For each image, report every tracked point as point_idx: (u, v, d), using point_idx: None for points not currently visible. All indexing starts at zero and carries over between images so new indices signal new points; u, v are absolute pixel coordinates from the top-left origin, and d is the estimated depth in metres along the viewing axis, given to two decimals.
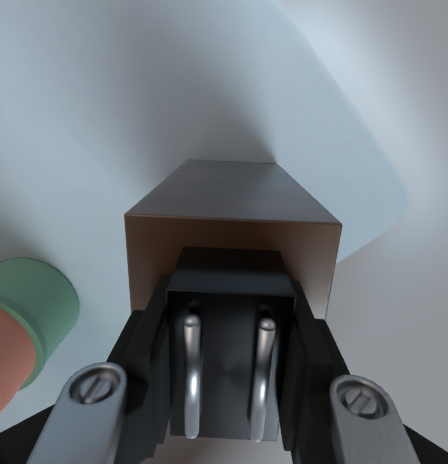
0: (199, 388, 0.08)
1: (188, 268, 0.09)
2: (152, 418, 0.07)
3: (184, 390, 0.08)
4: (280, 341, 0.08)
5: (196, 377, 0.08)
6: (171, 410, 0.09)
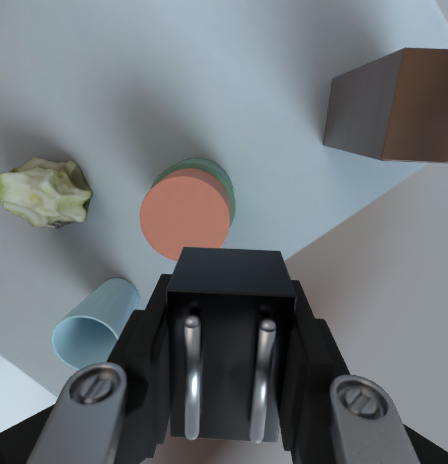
0: (199, 389, 0.08)
1: (188, 269, 0.09)
2: (152, 418, 0.07)
3: (184, 391, 0.08)
4: (280, 342, 0.08)
5: (197, 379, 0.08)
6: (171, 411, 0.09)
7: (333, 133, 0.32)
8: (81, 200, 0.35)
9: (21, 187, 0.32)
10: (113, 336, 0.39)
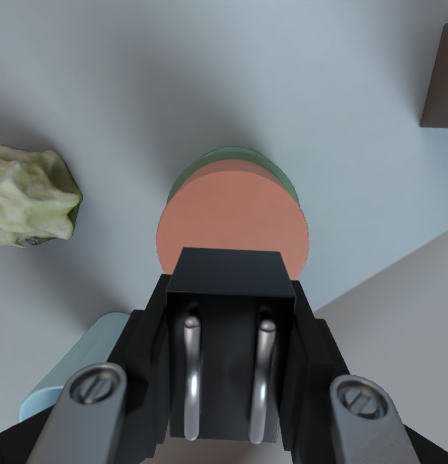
0: (199, 389, 0.08)
1: (188, 269, 0.09)
2: (152, 418, 0.07)
3: (184, 391, 0.08)
4: (280, 342, 0.08)
5: (197, 379, 0.08)
6: (171, 411, 0.09)
7: None
8: (64, 208, 0.23)
9: None
10: None
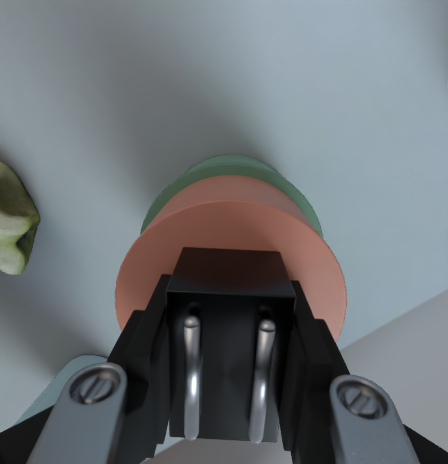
0: (199, 389, 0.08)
1: (188, 269, 0.09)
2: (152, 418, 0.07)
3: (184, 391, 0.08)
4: (280, 342, 0.08)
5: (196, 379, 0.08)
6: (171, 411, 0.09)
7: None
8: (9, 236, 0.18)
9: None
10: None
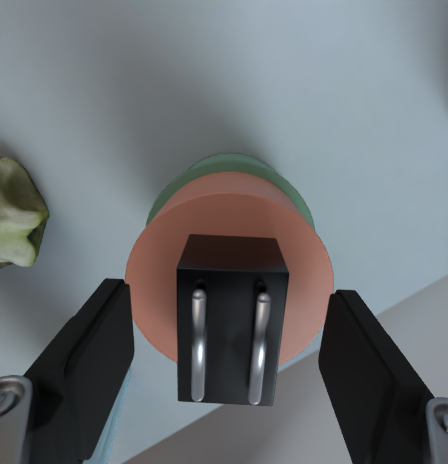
0: (204, 356, 0.09)
1: (195, 251, 0.10)
2: (73, 433, 0.07)
3: (191, 357, 0.09)
4: (275, 314, 0.09)
5: (203, 345, 0.09)
6: (179, 377, 0.10)
7: None
8: (21, 230, 0.19)
9: None
10: None
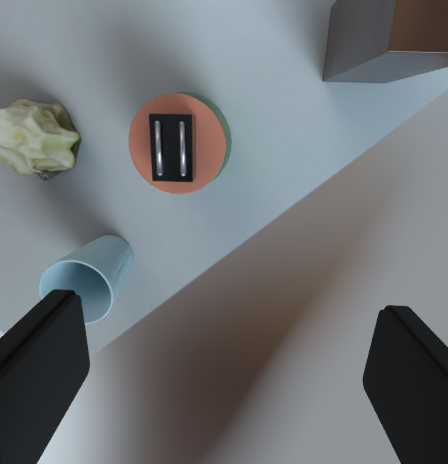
0: (161, 153, 0.23)
1: None
2: None
3: (156, 153, 0.23)
4: (188, 134, 0.23)
5: (160, 145, 0.23)
6: (152, 167, 0.24)
7: (333, 61, 0.30)
8: (68, 141, 0.33)
9: (4, 125, 0.31)
10: (106, 292, 0.37)
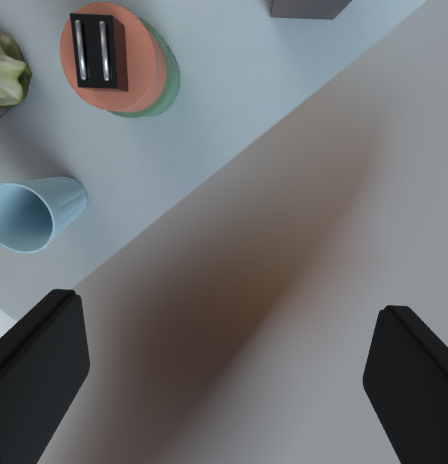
0: (84, 55, 0.23)
1: None
2: None
3: (78, 56, 0.23)
4: (110, 36, 0.23)
5: (81, 46, 0.23)
6: (77, 72, 0.24)
7: None
8: (14, 70, 0.33)
9: None
10: None
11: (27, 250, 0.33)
